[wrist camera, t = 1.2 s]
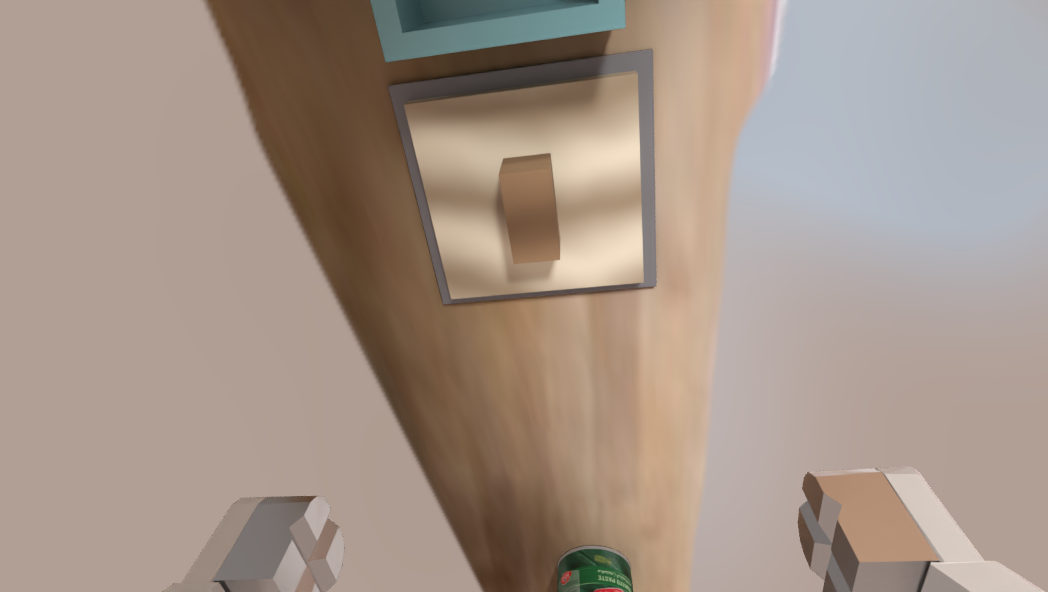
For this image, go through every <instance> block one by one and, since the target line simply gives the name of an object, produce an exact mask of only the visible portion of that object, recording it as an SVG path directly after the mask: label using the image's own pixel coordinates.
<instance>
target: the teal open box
mask: <svg viewBox="0 0 1048 592" xmlns="http://www.w3.org/2000/svg"><path fill="white" fill-rule="evenodd" d="M370 2H371V6H372V10H373V14H374V18H375V22H376V26H377V30H378V34H379V38H380V42H381V46H382V50H383V54H384V58H385V62H392V61H399V60H406V59H413V58H420V57H427V56H434V55H441V54H448V53H455V52H461V51H468V50H475V49H482V48H489V47H496V46H503V45H510V44H517V43H524V42H531V41H538V40H545V39H552V38H559V37H566V36H573V35H580V34H587V33H594V32H601V31H608V30H615V29H622V28H626V24H625V0H370Z"/></svg>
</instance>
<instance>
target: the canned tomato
mask: <svg viewBox="0 0 1048 592" xmlns="http://www.w3.org/2000/svg"><path fill="white" fill-rule="evenodd" d="M557 571H558V592H633V584H632V578H631V566H630V562H629V561H628V559H627V558H626V557H625V556H624V555H623V554H621V553H620V552H619V551H616V550H614V549H612V548H608V547H604V546H595V545H589V546H581V547H577V548H574V549H571V550H570V551H568V552H566V553H565V554H564V555H562V556H561V558H560V559H559V561H558V564H557Z"/></svg>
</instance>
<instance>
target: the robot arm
mask: <svg viewBox="0 0 1048 592" xmlns="http://www.w3.org/2000/svg"><path fill="white" fill-rule="evenodd" d="M802 489H803V491H804V493H805V496H806V498H807V500H808V501H807V502H805V503H804V504H803V505H802V506H801V507H800V508H799V517H798V528H799V536H800V541H801V545H802V548H803V552H804V555H805V557H806V560H807V562H808V564H809V567H810V569H811V570H812V571H814V572H815V573H816V574H817V575H818V576H820V577H821V578H822V579H823V580H824V581H825V582H824V587H823V592H1045V591H1043V590H1042V589H1040V588H1038V587H1037V586H1035V585H1034V584H1032V583H1031V582H1029V581H1027V580H1026V579H1024V578H1023V577H1021V576H1019V575H1018V574H1016V573H1015V572H1013V571H1011V570H1010V569H1008V568H1007V567H1005V566H1003V565H1002V564H1000V563H999V562H997V561H984V559H983V558H982V557H981V555H980V554H979V553H978V551H977V550H976V549H975V547H974V546H973V545H972V543H971V542H970V541H969V539H968V538H967V537H966V535H965V534H964V533H963V531H962V530H961V528H960V527H959V526H958V524H957V523H956V522H955V520H954V519H953V518H952V516H951V515H950V514H949V512H948V511H947V509H946V508H945V507H944V505H943V504H942V503H941V501H940V500H939V499H938V497H937V496H936V495H935V493H934V492H933V491H932V489H931V488H930V486H929V485H928V484H927V483H926V481H925V480H924V478H923V477H922V476H921V474H920V473H919V472H918V471H917V470H915V469H914V468H912V467H892V468H876V469H872V468H866V469H848V470H831V471H814V472H808V473H807V474H806V475H805V477H804V482H803V487H802ZM330 511H331V508H330V506H329V504H328V502H327V500H326V498H325V497H322V496H293V497H292V496H291V497H257V498H240V499H239V500H238V501H236V502H235V503H233V504H232V505H231V507H230V508H229V510H228V511H227V513H226V515H225V516H224V518H223V519H222V521H221V522H220V524H219V525H218V527H217V528H216V530H215V531H214V533H213V535H212V536H211V538H210V539H209V541H208V542H207V544H206V545H205V547H204V549H203V550H202V552H201V553H200V555H199V556H198V558H197V559H196V561H195V563H194V564H193V566H192V567H191V569H190V570H189V572H188V573H187V575H186V576H185V578H184V580H183V581H182V583H173V584H172V585H171V586H169V587H168V588H166V589H165V590H164V591H162V592H326V591H327V590H329V589H330V588H331V586H333V585H334V584H335V583H336V582H337V579H338V577H339V574H340V571H341V568H342V565H343V558H344V549H345V547H344V540H343V535H342V533H341V530H340V528H339V526H338V525H336V524H335V523H334V522H332V521H331V520H329V519H328V515H329V513H330Z"/></svg>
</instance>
